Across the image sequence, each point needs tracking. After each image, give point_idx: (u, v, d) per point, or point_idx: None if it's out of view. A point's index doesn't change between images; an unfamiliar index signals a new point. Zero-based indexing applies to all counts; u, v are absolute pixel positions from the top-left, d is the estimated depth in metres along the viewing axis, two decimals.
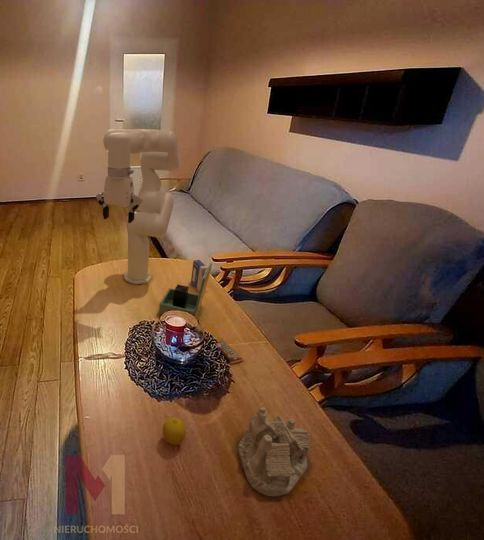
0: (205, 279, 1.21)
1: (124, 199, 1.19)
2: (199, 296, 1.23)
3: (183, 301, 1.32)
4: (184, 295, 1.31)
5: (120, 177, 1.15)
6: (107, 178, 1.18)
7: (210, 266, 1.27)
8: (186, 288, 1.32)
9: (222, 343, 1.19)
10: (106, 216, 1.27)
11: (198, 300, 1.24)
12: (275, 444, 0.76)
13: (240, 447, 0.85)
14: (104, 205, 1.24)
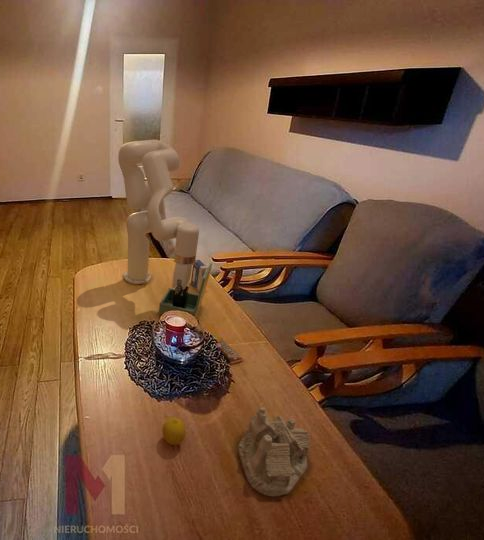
0: (205, 279, 1.21)
1: (190, 275, 1.32)
2: (199, 296, 1.23)
3: (183, 301, 1.32)
4: (184, 295, 1.31)
5: None
6: (188, 267, 1.24)
7: (210, 266, 1.27)
8: (186, 288, 1.32)
9: (222, 343, 1.19)
10: None
11: (198, 300, 1.24)
12: (275, 444, 0.76)
13: (240, 447, 0.85)
14: None
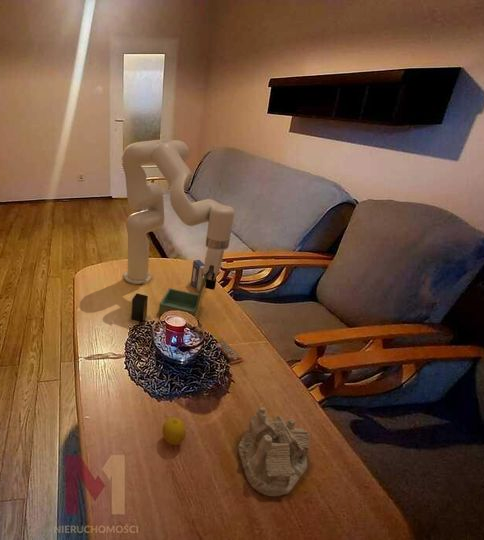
0: (205, 279, 1.21)
1: None
2: (199, 296, 1.23)
3: (141, 311, 1.28)
4: (142, 305, 1.27)
5: None
6: (221, 252, 1.16)
7: None
8: (145, 297, 1.29)
9: (222, 343, 1.19)
10: None
11: (198, 300, 1.24)
12: (275, 444, 0.76)
13: (240, 447, 0.85)
14: (215, 277, 1.23)
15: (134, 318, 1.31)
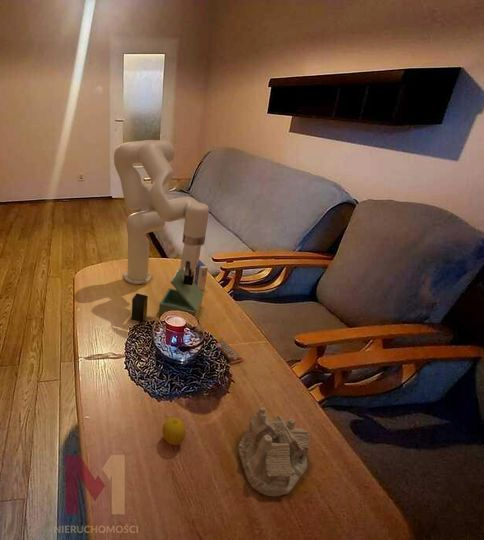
0: (174, 281, 1.27)
1: None
2: (184, 297, 1.26)
3: (141, 311, 1.28)
4: (142, 305, 1.27)
5: None
6: (197, 248, 1.19)
7: (178, 269, 1.33)
8: (145, 297, 1.29)
9: (222, 343, 1.19)
10: None
11: (187, 301, 1.26)
12: (275, 444, 0.76)
13: (240, 447, 0.85)
14: (192, 272, 1.26)
15: (134, 318, 1.31)
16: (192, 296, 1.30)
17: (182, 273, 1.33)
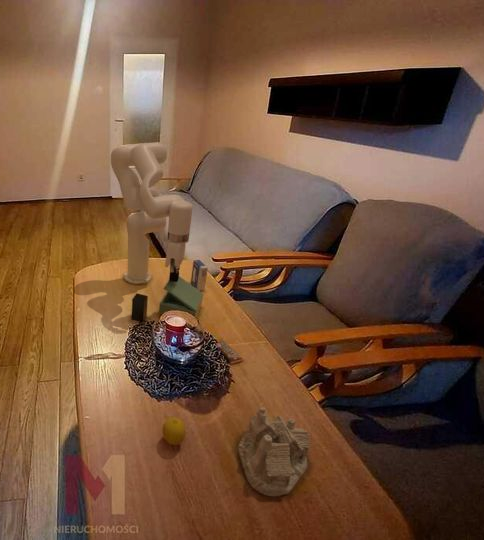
0: (168, 287, 1.29)
1: None
2: (180, 300, 1.27)
3: (141, 311, 1.28)
4: (142, 305, 1.27)
5: None
6: (181, 245, 1.21)
7: None
8: (145, 297, 1.29)
9: (222, 343, 1.19)
10: None
11: (184, 303, 1.27)
12: (275, 444, 0.76)
13: (240, 447, 0.85)
14: (177, 269, 1.28)
15: (134, 318, 1.31)
16: (190, 297, 1.30)
17: None
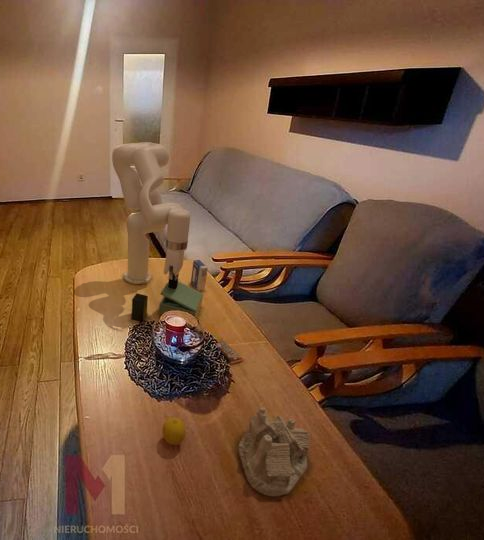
0: (164, 292, 1.31)
1: (182, 262, 1.31)
2: (179, 302, 1.28)
3: (141, 311, 1.28)
4: (142, 305, 1.27)
5: None
6: (179, 253, 1.23)
7: None
8: (145, 297, 1.29)
9: (222, 343, 1.19)
10: None
11: (183, 305, 1.28)
12: (275, 444, 0.76)
13: (240, 447, 0.85)
14: (176, 277, 1.30)
15: (134, 318, 1.31)
16: (188, 299, 1.31)
17: None
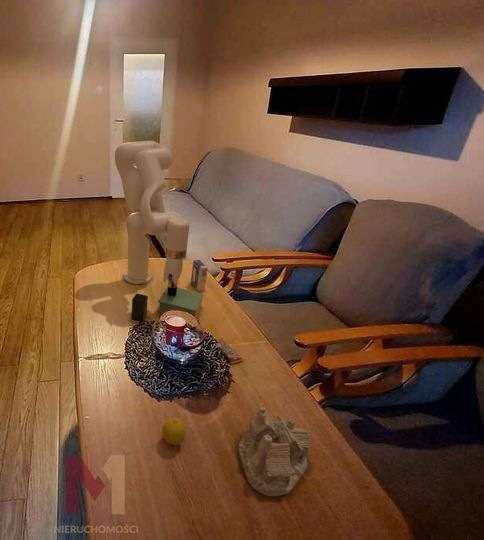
0: (162, 299, 1.33)
1: (181, 270, 1.33)
2: (177, 306, 1.29)
3: (141, 311, 1.28)
4: (142, 305, 1.27)
5: None
6: (178, 261, 1.24)
7: None
8: (145, 297, 1.29)
9: (222, 343, 1.19)
10: None
11: (182, 307, 1.29)
12: (275, 444, 0.76)
13: (240, 447, 0.85)
14: (175, 284, 1.31)
15: (134, 318, 1.31)
16: (187, 301, 1.31)
17: None
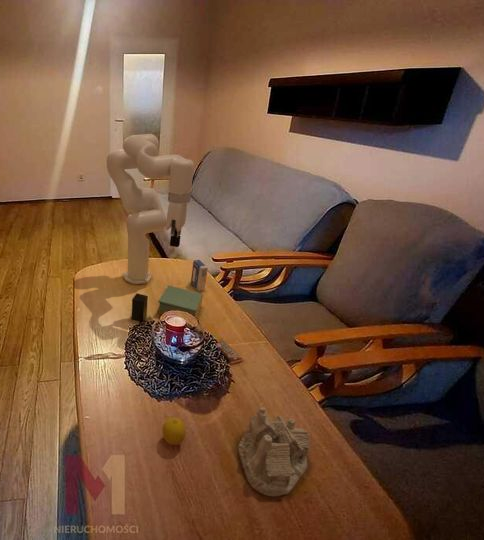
0: (162, 299, 1.33)
1: (185, 218, 1.25)
2: (177, 306, 1.29)
3: (141, 311, 1.28)
4: (142, 305, 1.27)
5: None
6: (182, 205, 1.16)
7: None
8: (145, 297, 1.29)
9: (222, 343, 1.19)
10: None
11: (182, 307, 1.29)
12: (275, 444, 0.76)
13: (240, 447, 0.85)
14: (178, 233, 1.24)
15: (134, 318, 1.31)
16: (187, 301, 1.31)
17: (170, 289, 1.39)
